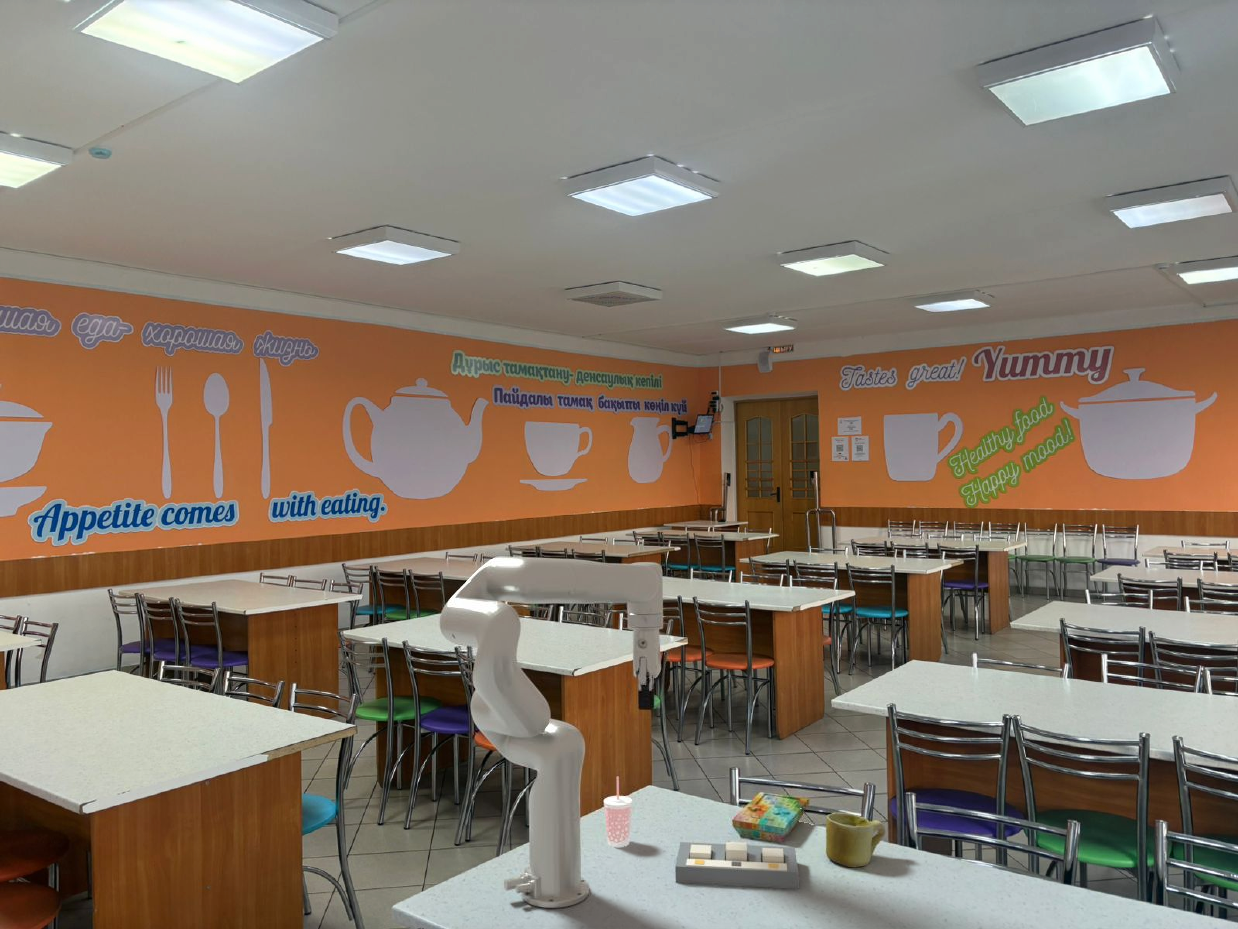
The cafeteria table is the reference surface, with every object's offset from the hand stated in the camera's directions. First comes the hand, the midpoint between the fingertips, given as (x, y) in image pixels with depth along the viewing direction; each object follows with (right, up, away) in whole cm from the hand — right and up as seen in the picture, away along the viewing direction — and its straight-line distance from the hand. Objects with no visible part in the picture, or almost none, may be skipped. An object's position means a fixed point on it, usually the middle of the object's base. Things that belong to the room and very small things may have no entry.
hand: (646, 708), depth 183 cm
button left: (+10, -27, -12) cm, 32 cm away
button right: (+24, -27, -14) cm, 39 cm away
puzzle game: (+29, -30, +12) cm, 43 cm away
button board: (+17, -28, -13) cm, 36 cm away
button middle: (+17, -26, -13) cm, 34 cm away
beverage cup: (-6, -30, +2) cm, 30 cm away
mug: (+42, -29, -7) cm, 52 cm away
